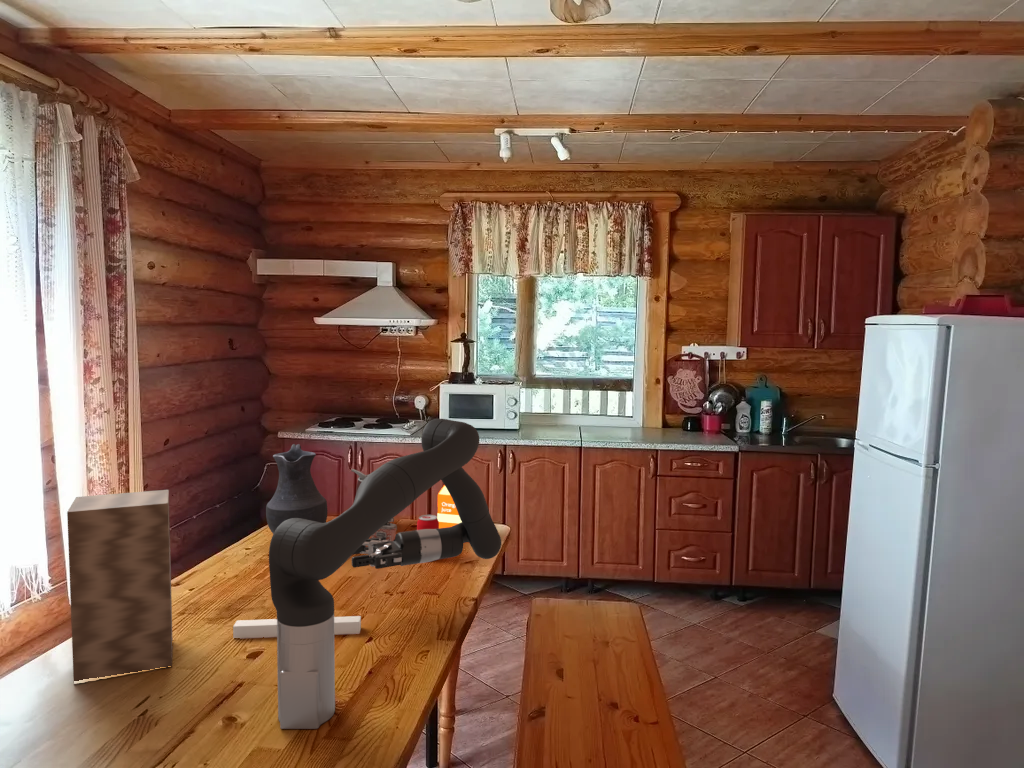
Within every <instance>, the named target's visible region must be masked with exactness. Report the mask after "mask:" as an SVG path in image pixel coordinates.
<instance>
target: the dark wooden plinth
mask: <svg viewBox="0 0 1024 768" xmlns="http://www.w3.org/2000/svg"><path fill="white" fill-rule="evenodd" d="M169 493H170V489H160V490H147V491H146V490H145V491H135V492H133V491H132V492H123V493H120V492H119V493H109V494H98V495H85V496H84V495H83V496H76V497H75V499H74V500H73V502H72V503H71V505H70V507H69V508H68V510H67V512H66V514H67V515H66V516H67V538H68V539H67V540H68V542H67V543H68V568H69V569H68V570H69V593H70V594H69V595H70V597H69V598H70V599H69V600H70V617H71V618H70V619H71V625H70V626H71V646H72V647H71V649H72V651H71V652H72V672H73V673H72V674H73V675H72V676H73V678H72V679H73V682H74V681H79V680H83V679H89V678H97V677H98V678H99V677H105V676H111V675H117V674H124V673H130V672H138V671H142V670H150V669H155V668H160V667H168V666H172V667H173V646H172V641H174V640H173V610H172V609H173V607H172V605H173V604H172V569H171V568H172V567H171V565H172V563H171V533H170V532H171V531H170V530H171V528H170V527H171V525H170V497H169V495H170V494H169Z"/></svg>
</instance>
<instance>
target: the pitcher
mask: <svg viewBox="0 0 1024 768" xmlns="http://www.w3.org/2000/svg"><path fill="white" fill-rule="evenodd" d="M316 455H317V454H316V453H315V452H312V451H305V450H303V449H302V446H301V444H300V443H298V444H295V443H293V444H292V445H291V446H290V448H289V450H288V451H285V452H279V453H275V454H273V455H272V458H273V459H274V461H275V464H276V466H277V469H278V481H277V487H276V489H275V491H274V494H273V496H272V497H271V499H270V500H269V501H268V502H267V504H266V506H265V515H266V516H265V517H266V522H267V526H268V528H269V530H270V532H271V533H272V535H273V534H274V532H275V530H276V529H277V527H278V526H279V525H280V524H281V523H282V522H284V521H286V520H288V519H291V518H301V519H306V520H311V521H316V522H320V523H326V522H327V519H328V502H327V499H326V498H325V497H324V496H323V494H321V493H320V491H319V489H318V487H317V486H316V484H315V482H314V479H313V476H312V473H311V467H312V464H313V461H314V459H315V457H316Z"/></svg>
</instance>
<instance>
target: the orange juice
mask: <svg viewBox="0 0 1024 768" xmlns="http://www.w3.org/2000/svg"><path fill="white" fill-rule="evenodd" d="M436 516H437V519H438V521H439V528H446V527H452V526H454V525H456V524H459V523H461V522H462V521H461V519H460V517H459V514H458V512H457V509H456V507H455V504H454V502H453V499H452V497H451V495H450V493H449V492H448V490H447V488H446V487H445V485H444V484H443V486H442V488H441V489H440V490H439V492H438V494H437V515H436Z"/></svg>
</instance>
